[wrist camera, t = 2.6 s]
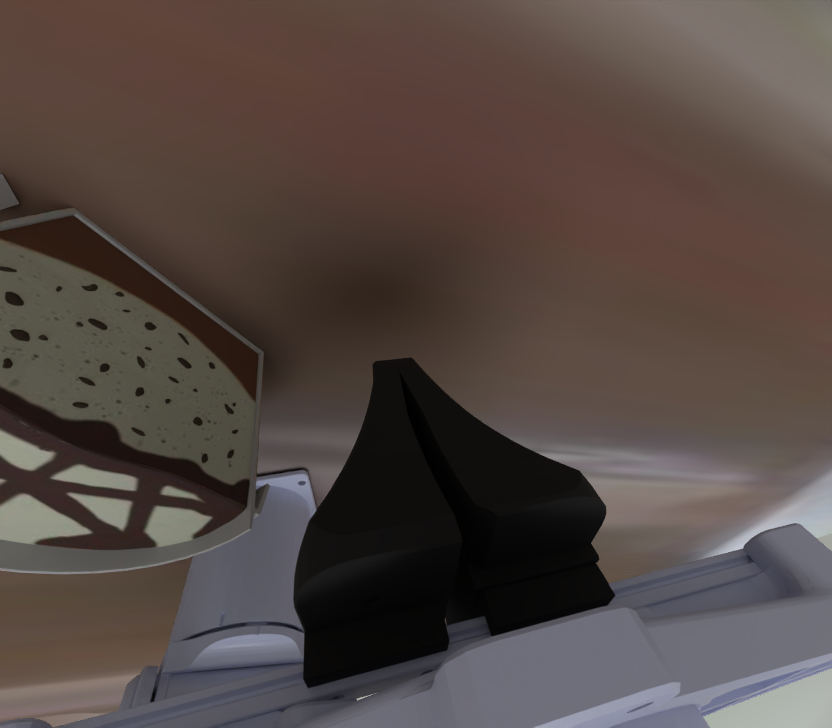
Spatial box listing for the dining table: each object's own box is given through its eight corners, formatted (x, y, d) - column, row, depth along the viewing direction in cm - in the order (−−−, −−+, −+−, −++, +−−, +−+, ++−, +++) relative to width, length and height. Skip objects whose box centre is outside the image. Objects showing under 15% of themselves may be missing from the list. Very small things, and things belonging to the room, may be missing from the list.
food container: (-64, 274, 14) (-544, 483, 6) (27, 172, 13) (-417, 269, 5) (210, 426, 21) (147, 612, 13) (285, 368, 20) (264, 534, 12)
